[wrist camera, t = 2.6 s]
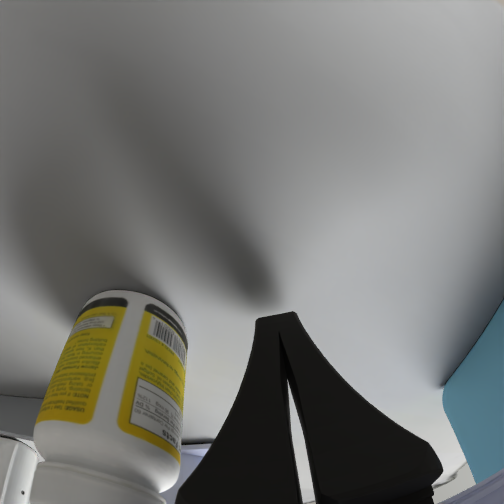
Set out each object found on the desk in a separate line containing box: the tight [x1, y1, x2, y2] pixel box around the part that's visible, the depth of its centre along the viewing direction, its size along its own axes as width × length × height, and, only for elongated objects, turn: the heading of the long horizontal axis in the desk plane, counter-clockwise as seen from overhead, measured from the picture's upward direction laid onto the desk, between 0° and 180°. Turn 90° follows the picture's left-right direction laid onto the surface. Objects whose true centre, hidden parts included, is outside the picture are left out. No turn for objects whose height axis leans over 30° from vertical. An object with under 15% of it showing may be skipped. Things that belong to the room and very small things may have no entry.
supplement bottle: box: [30, 290, 188, 504], centre depth 9 cm, size 5×5×8 cm
